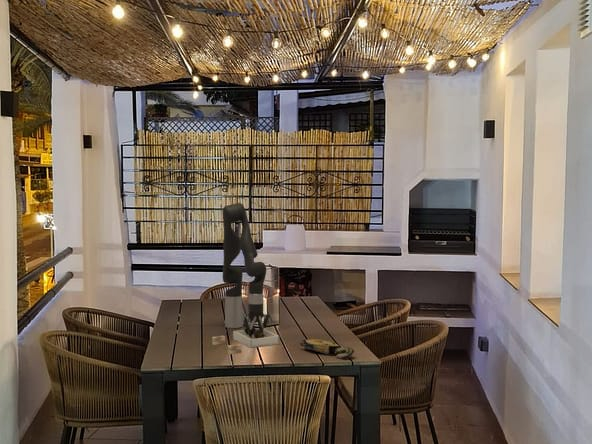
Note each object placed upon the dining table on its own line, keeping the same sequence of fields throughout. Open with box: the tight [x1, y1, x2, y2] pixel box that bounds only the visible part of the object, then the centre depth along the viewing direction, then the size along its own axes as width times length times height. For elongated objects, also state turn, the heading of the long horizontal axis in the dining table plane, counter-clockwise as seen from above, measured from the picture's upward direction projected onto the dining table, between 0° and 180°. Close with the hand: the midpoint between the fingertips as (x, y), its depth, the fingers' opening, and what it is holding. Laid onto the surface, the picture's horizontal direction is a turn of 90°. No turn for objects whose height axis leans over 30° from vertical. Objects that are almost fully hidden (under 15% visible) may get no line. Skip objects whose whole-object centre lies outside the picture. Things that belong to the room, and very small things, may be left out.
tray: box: [232, 327, 280, 349], centre depth 302 cm, size 16×21×4 cm
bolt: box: [243, 323, 265, 339], centre depth 302 cm, size 6×5×15 cm
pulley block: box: [297, 338, 355, 359], centre depth 282 cm, size 14×6×30 cm
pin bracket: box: [211, 335, 242, 355], centre depth 288 cm, size 6×21×4 cm, turn 30°
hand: (255, 335), depth 302 cm, fingers closed on bolt, 5 cm apart
